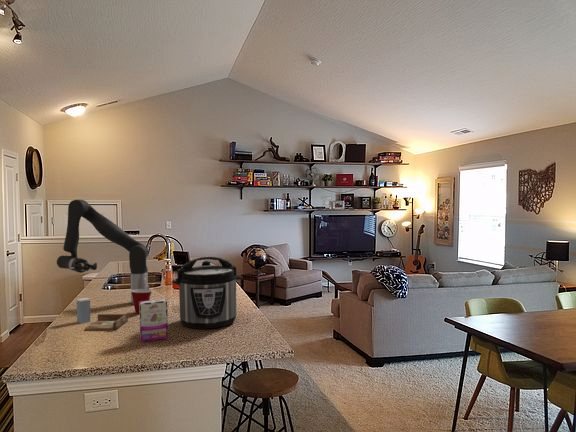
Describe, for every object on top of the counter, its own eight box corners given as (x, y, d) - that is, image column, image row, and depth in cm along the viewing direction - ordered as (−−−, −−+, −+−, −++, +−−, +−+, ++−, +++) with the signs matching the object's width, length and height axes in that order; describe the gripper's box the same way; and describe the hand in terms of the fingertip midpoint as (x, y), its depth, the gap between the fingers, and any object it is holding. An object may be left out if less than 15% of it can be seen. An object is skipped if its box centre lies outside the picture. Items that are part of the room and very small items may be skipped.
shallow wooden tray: (98, 321, 209) (98, 314, 209) (127, 321, 210) (127, 314, 209) (84, 330, 194) (84, 322, 194) (116, 330, 195) (115, 322, 194)
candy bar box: (166, 336, 187) (166, 298, 186) (168, 339, 182) (167, 300, 181) (139, 339, 182) (138, 300, 182) (140, 342, 178) (139, 303, 177)
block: (86, 319, 212) (86, 297, 212) (90, 321, 209) (90, 299, 208) (76, 321, 209) (76, 299, 208) (80, 323, 205) (80, 300, 205)
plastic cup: (157, 311, 229) (156, 288, 228) (142, 316, 219) (141, 292, 219) (141, 309, 233) (141, 287, 233) (126, 313, 224) (125, 290, 223)
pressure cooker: (163, 328, 198) (163, 259, 197) (194, 313, 225) (194, 252, 224) (222, 334, 189) (222, 262, 188) (247, 317, 216) (247, 254, 215)
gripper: (64, 259, 227) (77, 262, 215) (91, 256, 238) (105, 259, 226) (64, 273, 228) (77, 277, 216) (91, 270, 238) (105, 274, 226)
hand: (91, 268), depth 221 cm, fingers open, 3 cm apart
